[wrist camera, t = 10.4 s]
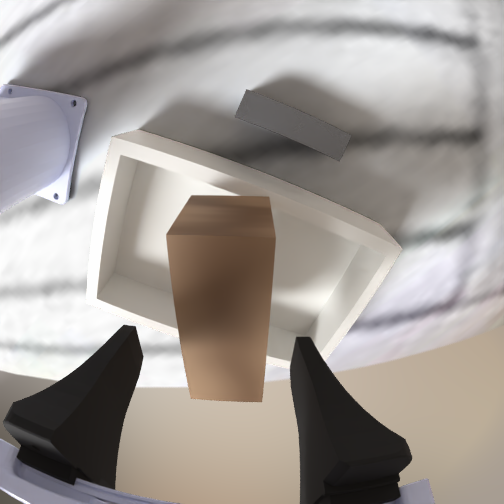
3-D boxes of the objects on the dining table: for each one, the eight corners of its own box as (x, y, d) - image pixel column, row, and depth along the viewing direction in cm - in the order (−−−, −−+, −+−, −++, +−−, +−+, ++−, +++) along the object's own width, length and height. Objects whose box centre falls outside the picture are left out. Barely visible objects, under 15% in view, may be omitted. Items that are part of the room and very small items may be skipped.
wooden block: (201, 339, 20) (190, 398, 15) (191, 195, 15) (166, 234, 11) (260, 342, 20) (262, 402, 15) (269, 196, 15) (275, 237, 11)
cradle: (237, 115, 17) (234, 117, 14) (322, -59, 11) (331, -79, 8) (326, 152, 18) (339, 161, 15) (401, -20, 12) (421, -32, 9)
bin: (107, 273, 22) (86, 302, 19) (138, 129, 17) (111, 136, 14) (307, 339, 25) (314, 374, 22) (379, 223, 20) (402, 248, 17)
